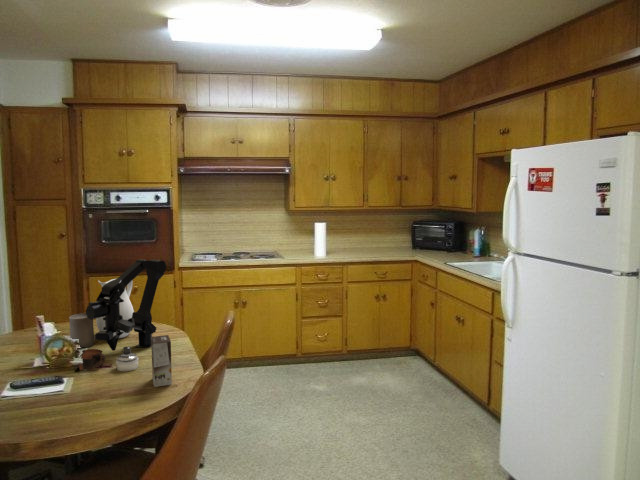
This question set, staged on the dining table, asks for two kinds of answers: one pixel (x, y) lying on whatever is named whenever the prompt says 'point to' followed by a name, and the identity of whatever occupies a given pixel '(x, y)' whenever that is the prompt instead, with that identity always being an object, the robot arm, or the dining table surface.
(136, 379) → the dining table surface
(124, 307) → the pitcher
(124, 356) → the plunger
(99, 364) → the pottery mug
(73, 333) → the pillar candle
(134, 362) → the press
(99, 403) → the dining table surface
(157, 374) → the coffee box
